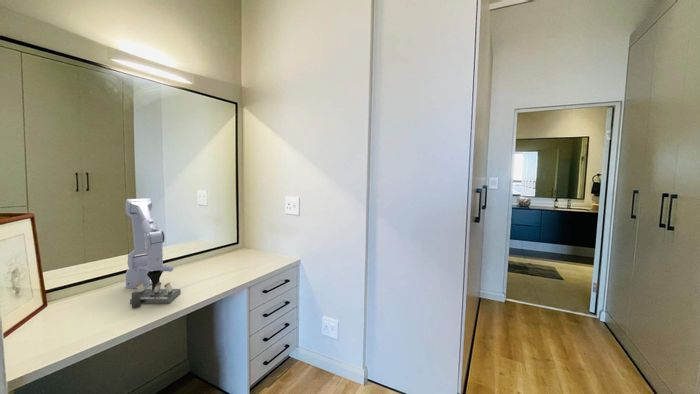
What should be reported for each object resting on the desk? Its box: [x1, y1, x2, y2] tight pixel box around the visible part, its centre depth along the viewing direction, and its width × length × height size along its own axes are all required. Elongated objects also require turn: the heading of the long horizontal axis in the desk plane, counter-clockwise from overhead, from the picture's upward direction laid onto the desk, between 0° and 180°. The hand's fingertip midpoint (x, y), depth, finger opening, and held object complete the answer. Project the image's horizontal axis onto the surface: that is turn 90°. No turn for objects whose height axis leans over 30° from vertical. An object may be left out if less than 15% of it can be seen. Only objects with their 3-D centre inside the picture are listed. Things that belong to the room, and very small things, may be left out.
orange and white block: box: [163, 282, 174, 294], centre depth 132 cm, size 1×3×4 cm, turn 5°
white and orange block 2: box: [154, 282, 163, 294], centre depth 132 cm, size 1×3×4 cm, turn 7°
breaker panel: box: [129, 288, 182, 305], centre depth 132 cm, size 16×11×3 cm
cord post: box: [131, 290, 142, 309], centre depth 124 cm, size 3×3×6 cm
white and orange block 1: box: [136, 282, 146, 294], centre depth 131 cm, size 1×3×4 cm, turn 5°
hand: (155, 286), depth 132 cm, fingers closed, pressing on white and orange block 2
